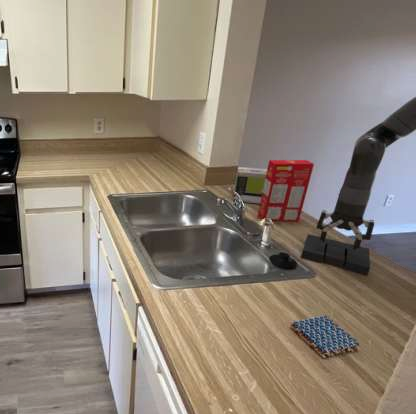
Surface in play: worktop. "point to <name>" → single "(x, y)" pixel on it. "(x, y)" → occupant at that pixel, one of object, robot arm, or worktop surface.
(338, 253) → the plug pad
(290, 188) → the food packaging
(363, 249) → the socket pad
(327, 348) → the woven mat
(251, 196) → the tea box
